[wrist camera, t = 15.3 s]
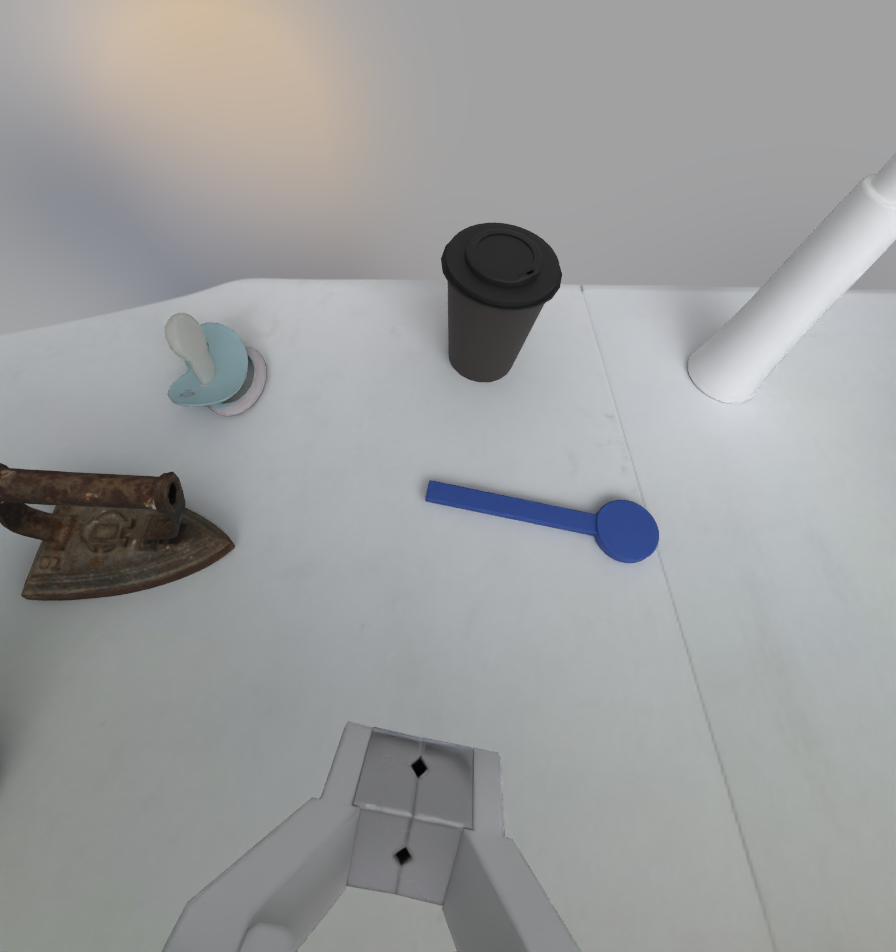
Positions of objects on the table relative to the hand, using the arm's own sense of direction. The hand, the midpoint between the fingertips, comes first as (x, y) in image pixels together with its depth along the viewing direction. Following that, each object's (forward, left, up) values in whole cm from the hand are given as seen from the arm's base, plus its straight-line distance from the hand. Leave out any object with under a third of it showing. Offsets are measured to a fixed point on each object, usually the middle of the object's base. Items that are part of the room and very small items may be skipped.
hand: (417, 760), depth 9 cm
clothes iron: (+18, -7, -20) cm, 28 cm away
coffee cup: (0, -28, -20) cm, 34 cm away
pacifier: (+18, -20, -20) cm, 34 cm away
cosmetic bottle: (-21, -31, -20) cm, 42 cm away
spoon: (-6, -15, -19) cm, 25 cm away
